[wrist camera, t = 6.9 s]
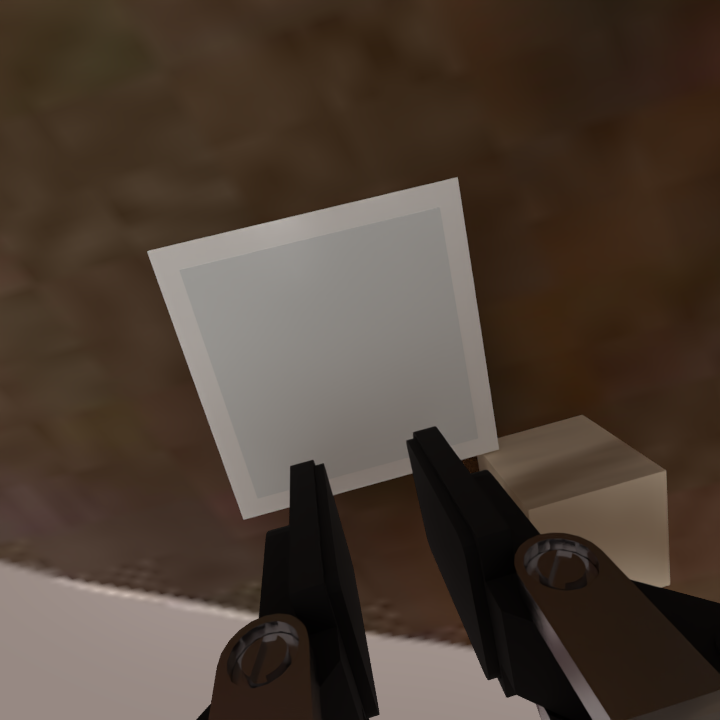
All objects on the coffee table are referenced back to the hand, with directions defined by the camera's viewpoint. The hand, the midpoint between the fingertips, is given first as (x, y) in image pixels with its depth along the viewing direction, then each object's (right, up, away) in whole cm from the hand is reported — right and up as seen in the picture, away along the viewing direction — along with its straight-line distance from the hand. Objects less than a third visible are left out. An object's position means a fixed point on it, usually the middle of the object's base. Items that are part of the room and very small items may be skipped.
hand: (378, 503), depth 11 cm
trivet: (-1, +4, +11) cm, 12 cm away
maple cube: (+10, -5, +9) cm, 14 cm away
